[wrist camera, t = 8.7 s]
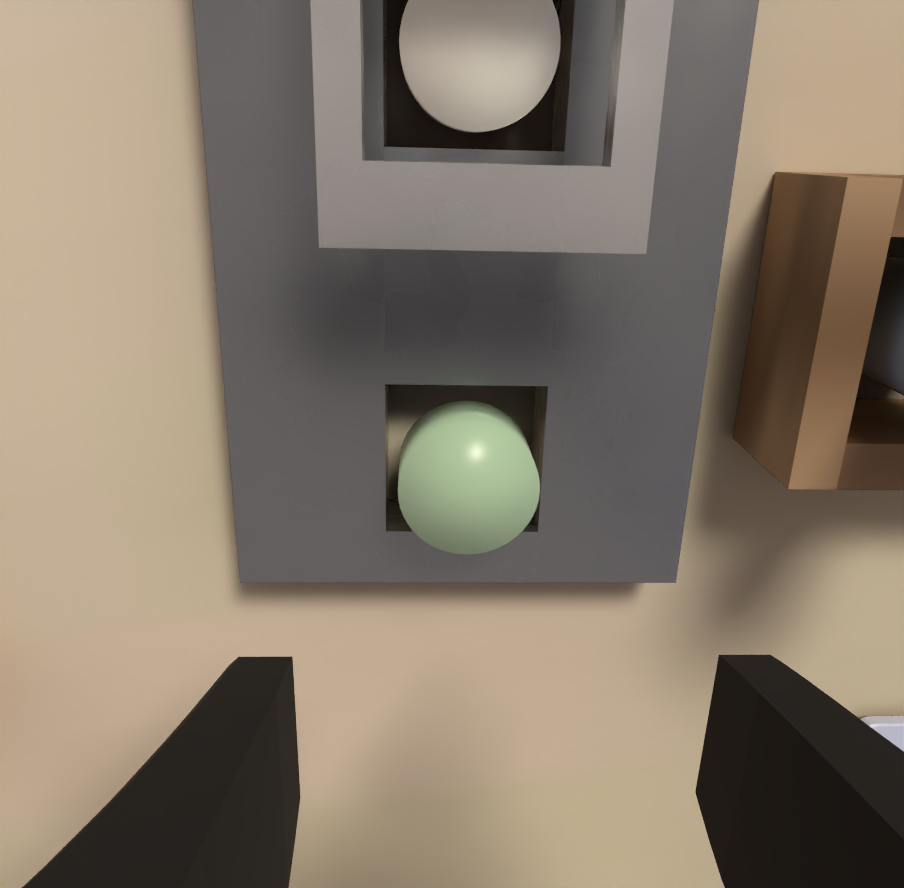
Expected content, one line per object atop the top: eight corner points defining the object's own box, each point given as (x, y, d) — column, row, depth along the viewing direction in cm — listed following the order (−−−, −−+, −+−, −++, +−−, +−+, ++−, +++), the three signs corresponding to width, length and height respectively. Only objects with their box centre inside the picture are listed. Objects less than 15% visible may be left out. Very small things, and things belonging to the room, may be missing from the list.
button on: (525, 522, 17) (535, 554, 16) (399, 521, 17) (398, 554, 16) (533, 401, 16) (544, 425, 15) (399, 399, 16) (397, 423, 15)
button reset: (542, 134, 16) (554, 133, 14) (401, 130, 15) (398, 129, 14) (552, -28, 15) (566, -46, 13) (401, -34, 14) (399, -52, 13)
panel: (656, 549, 20) (722, 661, 15) (253, 548, 19) (206, 664, 15) (743, -124, 15) (878, -235, 10) (202, -147, 14) (110, -273, 10)
